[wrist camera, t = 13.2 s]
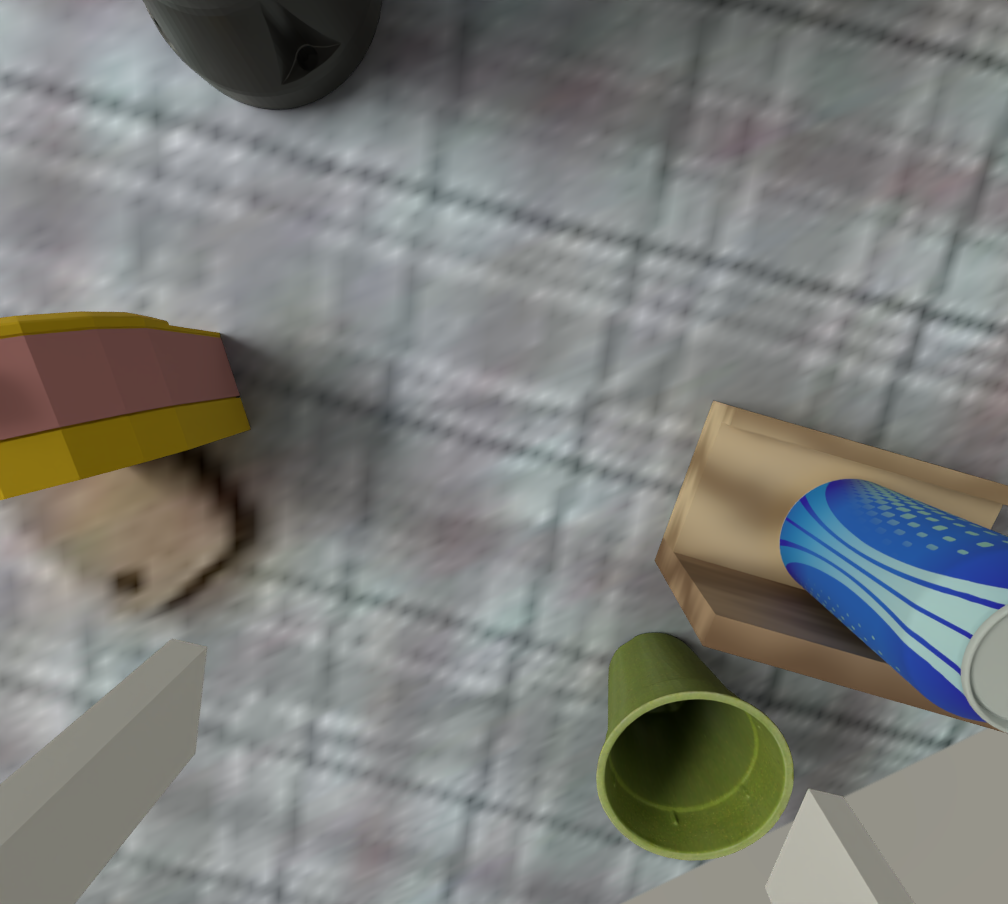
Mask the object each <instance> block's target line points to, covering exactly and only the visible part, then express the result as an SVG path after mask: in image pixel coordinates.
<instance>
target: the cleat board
mask: <svg viewBox="0 0 1008 904" xmlns="http://www.w3.org/2000/svg"><path fill="white" fill-rule="evenodd" d="M839 479H861V480H866V481H870V482H873V483H876V484H878V485H881V486H883V487H886V488H888V489H890V490H893V491H895V492H898V493H900V494H903V495H905V496H908V497H910V498H913V499H915V500H918V501H920V502H923V503H925V504H928V505H930V506H933V507H935V508H938V509H940V510H943V511H945V512H948V513H950V514H953V515H955V516H958V517H960V518H963V519H965V520H967V521H970V522H972V523H975V524H977V525H980V526H982V527H985V528H987V529H991V528H992V526H993V524H994V522H995V520H996V518H997V516H998V514H999V512H1000V510H1001V508H1002V506H1003V504H1004V505H1008V486H1007V485H1003V484H1000V483H997V482H993V481H990V480H986V479H983V478H980V477H976V476H973V475H969V474H966V473H962V472H959V471H955V470H952V469H949V468H945V467H942V466H938V465H935V464H931V463H928V462H924V461H921V460H917V459H914V458H910V457H907V456H903V455H900V454H896V453H893V452H890V451H886V450H883V449H879V448H876V447H872V446H869V445H865V444H862V443H858V442H855V441H851V440H848V439H844V438H841V437H837V436H834V435H831V434H827V433H824V432H820V431H817V430H813V429H810V428H806V427H803V426H799V425H796V424H792V423H789V422H785V421H782V420H779V419H775V418H772V417H768V416H765V415H761V414H758V413H754V412H751V411H747V410H744V409H740V408H737V407H733V406H730V405H726V404H723V403H720V402H716V401H713V403H712V405H711V408H710V411H709V414H708V416H707V419H706V422H705V425H704V427H703V430H702V433H701V435H700V438H699V441H698V444H697V446H696V449H695V452H694V455H693V457H692V460H691V463H690V466H689V468H688V471H687V474H686V476H685V479H684V482H683V485H682V487H681V490H680V493H679V496H678V498H677V501H676V504H675V506H674V509H673V512H672V515H671V517H670V520H669V523H668V526H667V528H666V531H665V534H664V536H663V539H662V542H661V545H660V547H659V550H658V553H657V556H656V558H655V562H656V564H657V566H658V567H659V569H660V571H661V573H662V574H663V576H664V578H665V580H666V581H667V583H668V585H669V587H670V589H671V590H672V592H673V594H674V596H675V597H676V599H677V601H678V603H679V604H680V606H681V608H682V610H683V612H684V613H685V615H686V617H687V619H688V620H689V622H690V624H691V626H692V627H693V629H694V631H695V633H696V635H697V636H698V638H699V640H700V642H701V643H702V645H703V646H705V647H708V648H712V649H715V650H719V651H722V652H726V653H729V654H733V655H736V656H740V657H743V658H747V659H750V660H754V661H757V662H761V663H764V664H768V665H771V666H775V667H778V668H782V669H785V670H789V671H792V672H796V673H799V674H803V675H806V676H809V677H813V678H816V679H820V680H823V681H827V682H830V683H834V684H837V685H841V686H844V687H848V688H851V689H855V690H858V691H862V692H865V693H869V694H872V695H876V696H879V697H883V698H886V699H890V700H893V701H897V702H900V703H904V704H907V705H911V706H914V707H917V708H921V709H924V710H928V711H931V712H935V713H938V714H942V715H945V716H949V717H952V718H956V719H959V720H963V721H966V722H970V723H973V724H977V725H980V726H984V727H987V728H991V729H994V730H998V731H1001V730H999V729H997V728H995V727H993V726H992V725H990V724H989V723H987V722H981V721H976V720H971V719H967V718H963V717H960V716H957V715H955V714H952V713H950V712H947V711H945V710H944V709H942V708H940V707H938V706H937V705H935V704H934V703H932V702H931V701H929V700H928V699H927V698H926V697H924V696H923V695H922V694H921V693H920V692H919V691H918V690H916V689H915V688H914V687H913V686H912V685H911V684H910V683H909V682H908V681H906V680H905V679H904V678H903V677H902V676H901V675H900V674H899V673H898V672H896V671H895V670H894V669H893V668H892V667H891V666H890V665H889V664H888V663H886V662H885V661H884V660H883V659H882V658H881V657H880V656H879V655H877V654H876V653H875V652H874V651H873V650H872V649H871V648H870V647H869V646H867V645H866V644H865V643H864V642H863V641H862V640H861V639H860V638H859V637H857V636H856V635H855V634H854V633H853V632H852V631H851V630H850V629H849V628H847V627H846V626H845V625H844V624H843V623H842V622H841V621H840V620H838V619H837V618H836V617H835V616H834V615H833V614H832V613H831V612H830V611H828V610H827V609H826V608H825V607H824V606H823V605H822V604H821V603H820V602H818V601H817V600H816V599H815V598H814V597H813V596H812V595H811V594H809V593H808V592H807V591H806V590H805V589H804V588H803V587H802V586H801V585H799V584H798V583H797V582H796V581H795V580H794V579H793V578H792V577H791V575H790V574H789V573H788V571H787V569H786V568H785V566H784V564H783V561H782V558H781V554H780V548H779V539H780V532H781V528H782V525H783V522H784V520H785V518H786V516H787V514H788V512H789V511H790V509H791V508H792V507H793V505H794V504H795V503H796V502H797V501H798V500H799V499H800V498H801V497H802V496H803V495H805V494H806V493H807V492H809V491H810V490H812V489H814V488H815V487H817V486H820V485H822V484H824V483H827V482H830V481H834V480H839ZM1001 732H1003V731H1001ZM1005 733H1006V732H1005Z"/></svg>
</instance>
